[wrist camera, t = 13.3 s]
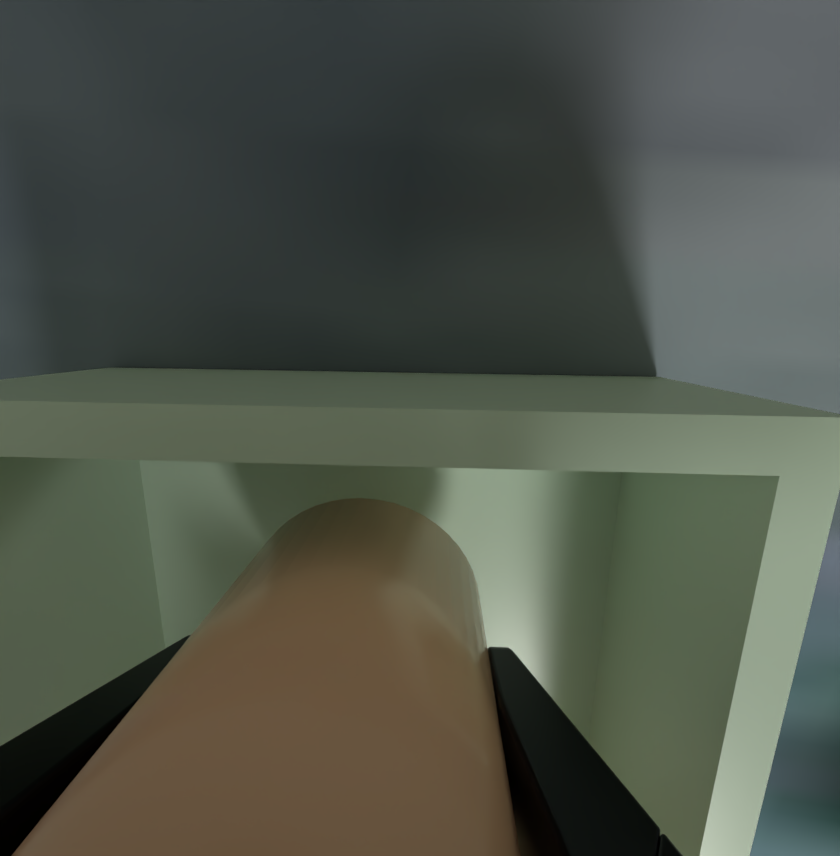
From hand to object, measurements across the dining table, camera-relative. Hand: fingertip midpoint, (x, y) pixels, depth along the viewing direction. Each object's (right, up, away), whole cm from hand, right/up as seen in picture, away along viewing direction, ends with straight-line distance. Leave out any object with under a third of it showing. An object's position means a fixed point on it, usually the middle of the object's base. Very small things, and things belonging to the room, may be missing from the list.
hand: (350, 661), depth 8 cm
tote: (0, -3, +5) cm, 6 cm away
